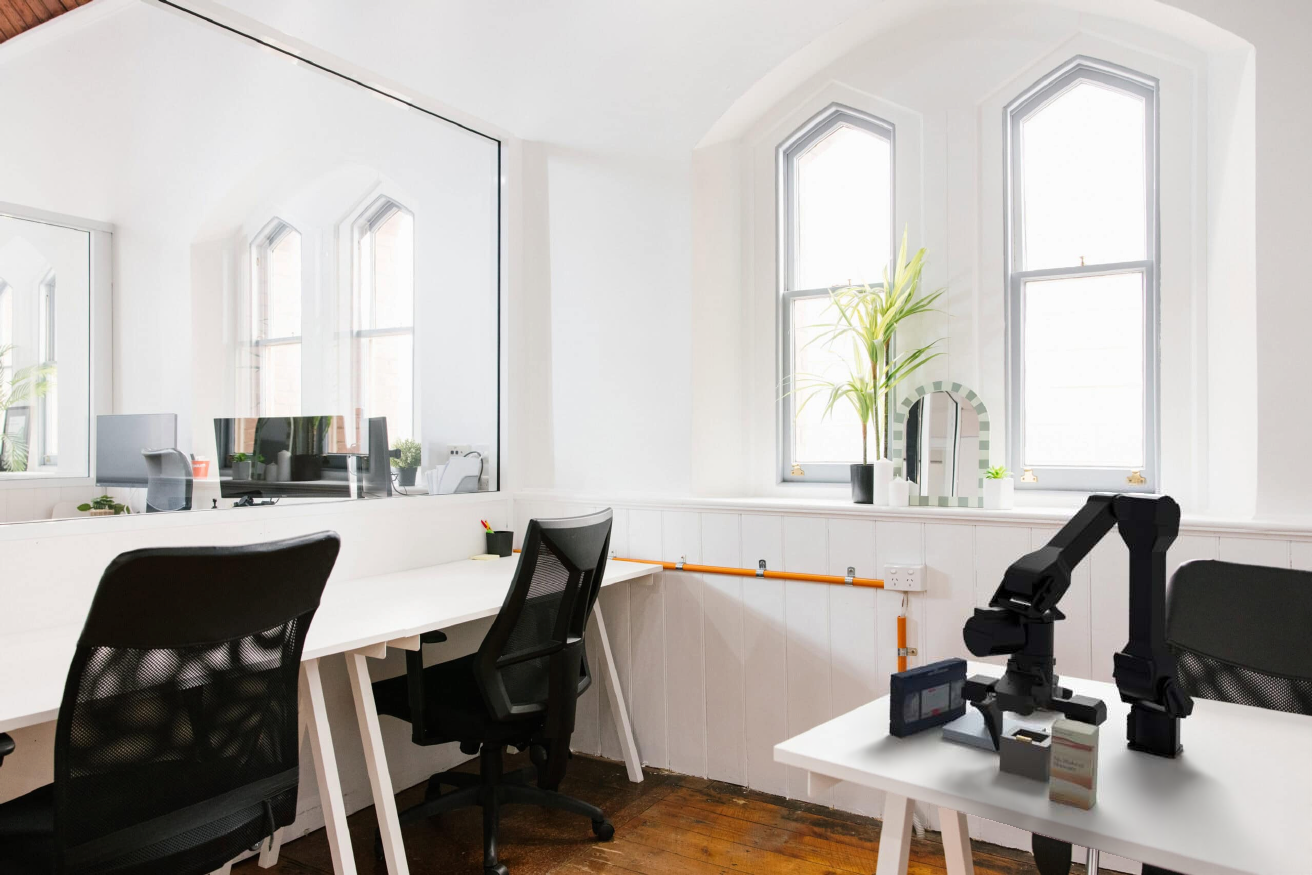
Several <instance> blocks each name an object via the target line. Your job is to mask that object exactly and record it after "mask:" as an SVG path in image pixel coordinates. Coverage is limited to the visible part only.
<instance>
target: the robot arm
mask: <svg viewBox="0 0 1312 875" xmlns="http://www.w3.org/2000/svg"><path fill="white" fill-rule="evenodd" d="M1180 507H1181V506H1180V505H1179V503H1178V502H1176V501H1175V499H1174V498H1173V497H1172V496H1170V495H1165V494H1155V493H1153V494H1152V493H1141V492H1140V493H1139V492H1128V493H1126V494H1125V495H1123V494H1122V493H1119V492H1118V493H1117V492H1107V491H1104V492H1103V491H1096V492H1095V493H1092V494H1090V495H1089V496H1088V497H1087V500H1086V502H1085V504H1084V505H1083V506H1082V508H1080V509H1079V510H1078V511H1077V512H1076V513H1075V515H1073V516H1072V518H1071V519H1069V521H1068V522H1067V523H1066V524H1065V525H1063V527H1062V528H1061V529H1060V530H1059V531H1058V532H1057V533H1056V534H1055V535H1054V536H1052V538H1051V539H1050V540H1049V541H1048V543H1046V544H1045V545H1044V546H1043V547H1042V548H1039V549H1038V550H1035V551H1033V552H1029V553H1027V554H1024V555H1023V556H1021V557H1020V558H1019V559H1017V560H1015V561H1014V562H1013V563H1011V565H1009V566H1008V567H1007V569H1006V570H1005V572H1004V575H1003V578H1002V580H1001V581H1000V583H999V585H998V587H997V589H996V590H995V592H994V594H993V595H992V597H991V599H990V600H989V603H988V607H983V606H977V607H975V606H974V608H973V615H972V616H970V617H969V618H968V619H967V620H966V622H965V623H964V627H963V628H962V638H963V642H964V644H965V647H966V649H967V651H968V652H970V654H971V655H972V656H974V657H977V658H988V657H996V656H997V657H998V656H1008V655H1010V657H1008V658H1007V662H1006V670H1005V672H1004V674H1003V675H1002V676H1001V678H997V677H994V676H993V677H992V676H987V675H984V674H978V673H977V674H975V675H972V676H971V677H968V678H967V680H965V681H964V682H963V683H962V686H961V698H962V699H964V700H966V701H969V705H970V706H971V707H973V708H976V709H977V711H978V712H981V714H982V715H983V717H984V719H985V721H986V724H987V726H988V729H989V732H990V735H991V738H992V741H993V744H994V747H995V749H996V751H995V752H998V751H1000V735H1002V734H1003V718H1004V713H1006V712H1009V713H1013V714H1018V715H1019V716H1022V717H1030V716H1032V715H1033V714H1034V711H1035V710H1036V709H1035V708H1043V709H1047V710H1052V711H1053V712H1057V713H1061V714H1063V716H1064V717H1063V718H1064V719H1069V720H1073V721H1079V722H1083V723H1087V724H1091V725H1095V726H1099V727H1100V726H1101V725H1102V724H1103V723H1104V722H1105V721H1107V720H1108V707H1107V705H1106V704H1105V702H1104V700H1103V699H1102V698H1096V697H1091V696H1086V695H1081V694H1077V693H1076V694H1075V695H1072V698H1070V699H1069V700H1065V699H1061V698H1056V697H1053V694H1054V693H1055V686H1053V674H1054V668H1055V667H1054V666H1056V665H1057V660H1056V659H1057V658H1056V657H1055V655H1054V652H1055V651H1054V650H1055V648H1054V647H1055V622H1058V621H1065V620H1066V618H1067V616H1066V615H1065V613H1063V612H1062V610H1060V609H1059V607H1057V605H1058V604H1059V602H1060V601H1061V600H1062V598H1063V597H1064V595H1065V594H1066V592H1067V591H1068V590H1069V588H1070V587H1071V584H1072V572H1073V571H1074V570H1075V568H1076V567H1077V566H1078V565H1079V564H1080V562H1081V561H1083V559H1085V557H1087V555H1088V554H1089V553H1090V552H1091V551H1092V550H1093V549H1094V548H1095V546H1097V545H1098V544H1099V543H1100V541H1101V540H1102V539H1103V538H1105V537H1106V535H1107V534H1108V533H1110V531H1111V529H1113V528H1114V526H1116V524H1117V532H1118V534H1119V536H1120V537H1121V539H1122V541H1123V542H1124V544H1125V545H1126V547H1127V549H1128V642H1126V645H1125V646H1124V647H1123V649H1121V651H1120V652H1119V651H1115V652H1114V653H1113V656H1112V659H1113V672H1112V675H1111V677H1112V678H1114V681H1115V685H1116V688H1117V690H1118V693H1119V698H1120V701H1121V703H1123V704H1129V705H1130V711H1129V713H1128V714H1126V740H1127V741H1128V742H1127V743H1126V747H1127V748H1129V749H1133V750H1137V751H1141V752H1146V753H1150V754H1155V755H1158V756H1162V757H1163V756H1164V757H1168V758H1172V759H1175V758H1176V757H1177V756H1178V754H1179V753H1181V751H1182V750H1183V749H1184V744H1181V725H1182V723H1181V720H1182V719H1187V717H1188V716H1191V715H1192V713H1193V709H1194V705H1195V701H1194V700H1193V698H1192V697H1191V696H1190V695H1189V693H1188V692H1187V691H1186V689H1185V688H1184V687H1183V686H1182V685H1181V683H1180V676H1179V668H1178V664H1177V662H1176V661H1175V659H1174V657H1173V655H1172V654H1171V652H1170V651H1169V648H1168V647H1167V643H1166V641H1167V635H1166V633H1167V626H1166V625H1167V624H1166V622H1167V620H1166V619H1167V618H1166V616H1167V552H1168V550H1169V549H1170V548H1171V546H1172V545H1173V543H1174V542H1175V541H1176V539H1177V538H1178V536H1179V530H1180V523H1181V517H1182V511H1181V508H1180Z"/></svg>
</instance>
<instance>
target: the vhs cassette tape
mask: <svg viewBox="0 0 1312 875" xmlns="http://www.w3.org/2000/svg"><path fill="white" fill-rule="evenodd" d="M967 673H968V660H966V659H964V658H961V657H953V658H947V659H944V660H941V661H940V660H939V661H936V662H933V663H929V664H926V665H921V666H917V667H914V668H910V669H907V670H906V669H905V670H902V671H900V672H895V673H892V674H890V683H889V691H890V692H889V694H890V695H889V726H888V727H889V732H888V733H889V735H891V736H894V737H897V738H899V739H904V738H907V737H910V736H914V735H916V734H917V735H918V734H920V733H922V732H925V731H929V730H931V729H934V728H937V727H941V726H944V725H948V724H950V723H951V722H953V721H955V720H957V719H958V718H960V717H962V716H964V715H965V714H967V700H964V699H962V698H961V686H962V683H963V682H964V681H965V680H967V679H968V675H967Z"/></svg>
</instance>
